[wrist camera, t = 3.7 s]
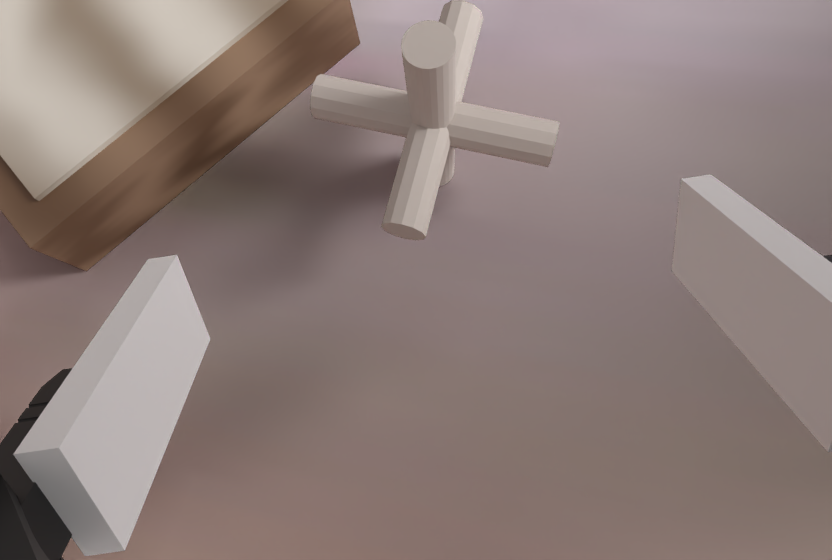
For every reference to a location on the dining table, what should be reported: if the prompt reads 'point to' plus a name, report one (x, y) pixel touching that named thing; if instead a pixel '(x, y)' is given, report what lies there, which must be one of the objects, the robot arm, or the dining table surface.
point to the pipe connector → (432, 116)
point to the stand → (141, 103)
